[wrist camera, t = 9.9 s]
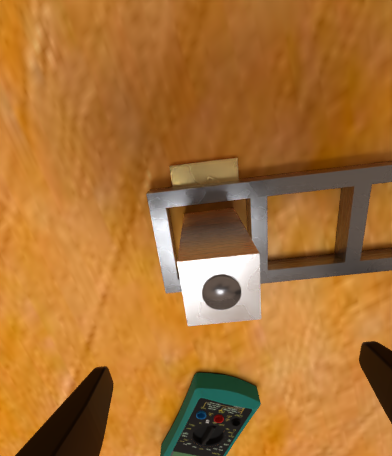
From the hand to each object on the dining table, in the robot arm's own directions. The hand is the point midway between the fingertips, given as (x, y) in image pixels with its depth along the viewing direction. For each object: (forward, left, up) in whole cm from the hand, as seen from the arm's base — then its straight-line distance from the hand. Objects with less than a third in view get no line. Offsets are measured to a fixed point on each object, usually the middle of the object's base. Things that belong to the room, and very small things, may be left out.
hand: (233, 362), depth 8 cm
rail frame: (-7, 0, -12) cm, 14 cm away
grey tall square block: (0, 0, -12) cm, 12 cm away
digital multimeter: (+3, +24, -13) cm, 27 cm away
